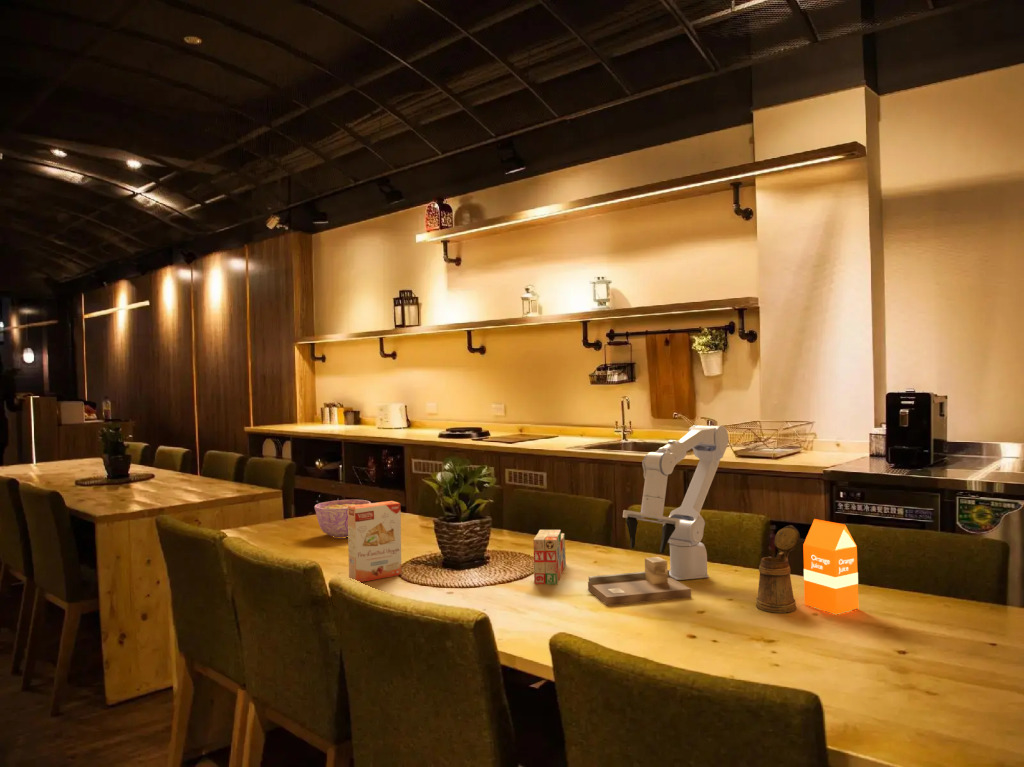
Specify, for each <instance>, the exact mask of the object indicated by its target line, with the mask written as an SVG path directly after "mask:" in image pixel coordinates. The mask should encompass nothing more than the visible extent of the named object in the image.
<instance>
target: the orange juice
mask: <svg viewBox="0 0 1024 767" xmlns="http://www.w3.org/2000/svg"><path fill="white" fill-rule="evenodd" d="M802 545H803V548H802V550H803V582H804V585H803V586H804V606H806V605H809V606H812V607H816V608H819V609H821V610H825V611H828V612H831V613H835V614H838V613H842V612H845V611H849V610H852V609H856V608H858V609H859V572H858V546H857V544H856V542H855V541H854V538H853V537H852V535H851V532H850V531H849V529H848V527H847V526H846V524H843V523H838V522H833V521H827V520H822V519H817V518H814V519H813V521H812V524H811V526H810V528H809V530H808V533H807V535H806V537H805V540H804V543H803V544H802ZM809 606H808V607H809ZM812 607H811V608H812ZM821 610H820V611H821ZM825 611H824V612H825ZM828 612H827V613H828ZM831 613H830V614H831Z"/></svg>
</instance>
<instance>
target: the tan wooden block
mask: <svg viewBox="0 0 1024 767" xmlns="http://www.w3.org/2000/svg"><path fill="white" fill-rule="evenodd" d="M667 570H668V560H666V559H664V558H662V557H661V556H652V557H645V558H644V572H645V579H646V580H648V581H649V582H651V583H652V584H660V583H668V573H667Z"/></svg>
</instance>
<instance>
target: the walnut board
mask: <svg viewBox="0 0 1024 767" xmlns="http://www.w3.org/2000/svg"><path fill="white" fill-rule="evenodd" d="M669 571H670V569H667V573H668V583H660V584H652V583H651V582H649V581H648V580H646V579H645V571H635V572H626V573H624V572H623V573H614V574H604V575H591V576H588V581H587V589H588V591H589V592H590V593H592V594H593V595H594V596H595V597H597V599H599V600H600V601H601V602H603V603H604V604H605V605H606V606H616V605H617V606H618V605H626V604H634V603H635V604H637V603H646V602H654V601H655V602H656V601H657V602H658V601H664V600H665V601H667V600H675V599H686V598H692V588H690V587H688V586H686V585H685V584H683V583H682V582H680V581H679V580H676V579H674V578H672V577H671V576H669Z"/></svg>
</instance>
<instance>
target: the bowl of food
mask: <svg viewBox="0 0 1024 767" xmlns="http://www.w3.org/2000/svg"><path fill="white" fill-rule="evenodd" d="M370 503H372V502H371V501H369V500H366V499H365V500H364V499H340V500H331V501H324V502H319V503H317V504H315V505H314V511H315V514H316V518H317V522H318V524H319V525H318V526H319V527H320V530H321V531H322V532H323V533H324V534H325V535H328V536H331V537H332V536H334V537H347V536H348V506H352V505H361V504H370Z"/></svg>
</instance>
